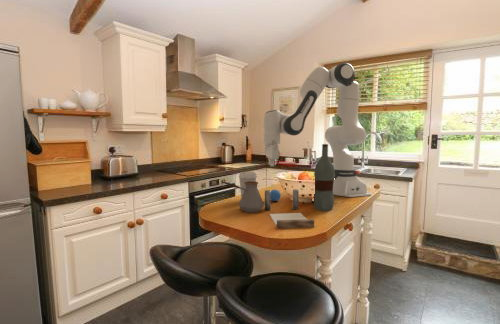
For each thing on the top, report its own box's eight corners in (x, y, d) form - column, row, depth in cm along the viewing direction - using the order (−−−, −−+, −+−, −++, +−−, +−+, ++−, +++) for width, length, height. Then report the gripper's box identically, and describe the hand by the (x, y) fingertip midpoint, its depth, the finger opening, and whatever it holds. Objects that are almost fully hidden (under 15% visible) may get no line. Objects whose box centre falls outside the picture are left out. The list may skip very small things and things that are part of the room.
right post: (297, 208, 133) (297, 189, 132) (298, 209, 130) (299, 190, 129) (291, 208, 133) (292, 189, 132) (293, 209, 130) (293, 190, 129)
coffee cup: (240, 199, 150) (240, 171, 149) (258, 199, 149) (258, 171, 147) (237, 203, 141) (236, 174, 139) (256, 204, 140) (256, 174, 138)
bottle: (319, 204, 139) (321, 143, 135) (337, 208, 132) (339, 144, 129) (309, 208, 132) (310, 144, 129) (327, 212, 126) (329, 145, 122)
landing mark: (300, 213, 125) (300, 212, 125) (310, 223, 111) (310, 223, 111) (269, 214, 123) (269, 214, 123) (275, 225, 109) (275, 224, 109)
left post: (269, 209, 131) (269, 190, 130) (270, 210, 129) (270, 191, 128) (264, 209, 131) (264, 190, 130) (265, 210, 129) (265, 191, 128)
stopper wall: (312, 225, 109) (312, 219, 109) (314, 227, 107) (314, 220, 107) (276, 226, 107) (276, 220, 107) (277, 228, 105) (277, 222, 105)
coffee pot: (252, 205, 138) (252, 175, 136) (269, 210, 130) (269, 178, 128) (216, 214, 124) (215, 180, 123) (232, 220, 116) (231, 184, 114)
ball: (279, 199, 150) (279, 188, 149) (281, 202, 144) (281, 190, 143) (268, 199, 149) (268, 188, 149) (270, 202, 143) (270, 191, 143)
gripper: (281, 141, 142) (281, 168, 144) (274, 139, 162) (273, 163, 164) (269, 141, 141) (269, 168, 143) (263, 140, 162) (263, 164, 163)
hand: (271, 166), depth 154 cm, fingers closed
